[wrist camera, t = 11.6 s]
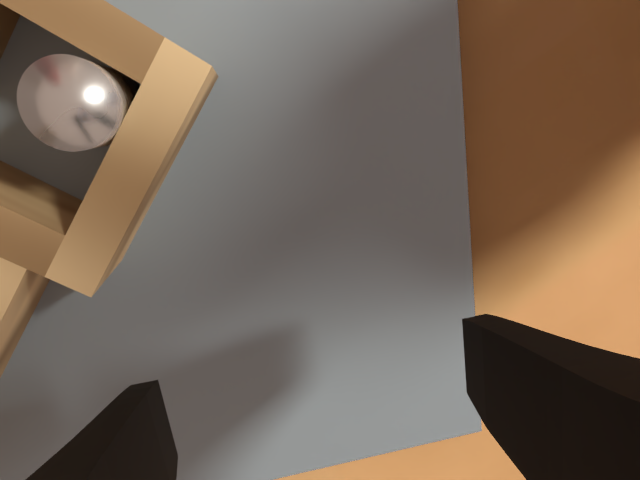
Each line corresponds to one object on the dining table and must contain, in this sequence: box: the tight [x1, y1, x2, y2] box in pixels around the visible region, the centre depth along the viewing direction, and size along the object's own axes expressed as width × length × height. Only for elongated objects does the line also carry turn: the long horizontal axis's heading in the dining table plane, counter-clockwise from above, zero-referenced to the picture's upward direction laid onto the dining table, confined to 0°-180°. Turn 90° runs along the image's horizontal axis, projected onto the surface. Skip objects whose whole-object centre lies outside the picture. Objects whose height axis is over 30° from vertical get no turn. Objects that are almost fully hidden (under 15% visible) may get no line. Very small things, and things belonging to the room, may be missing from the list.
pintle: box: [17, 54, 140, 152], centre depth 12 cm, size 2×2×4 cm
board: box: [0, 0, 482, 480], centre depth 14 cm, size 22×21×1 cm
